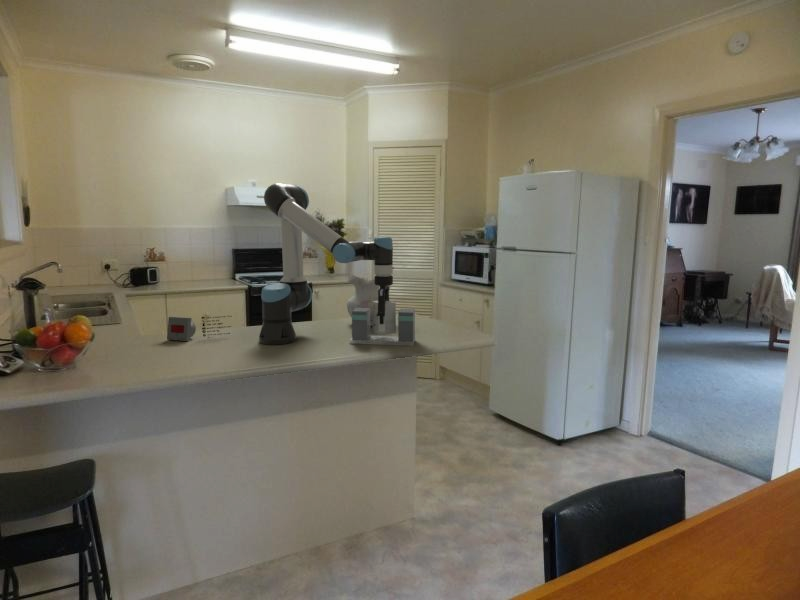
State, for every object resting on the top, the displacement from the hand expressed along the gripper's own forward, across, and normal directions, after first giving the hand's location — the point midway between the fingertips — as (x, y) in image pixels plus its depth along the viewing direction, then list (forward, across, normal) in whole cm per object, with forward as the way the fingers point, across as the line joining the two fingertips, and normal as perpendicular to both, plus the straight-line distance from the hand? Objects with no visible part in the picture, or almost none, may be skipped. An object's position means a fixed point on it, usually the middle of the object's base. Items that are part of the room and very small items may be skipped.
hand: (383, 328), depth 212 cm
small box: (+2, 0, 0) cm, 2 cm away
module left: (+4, 0, +10) cm, 10 cm away
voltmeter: (+6, -4, +79) cm, 79 cm away
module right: (+4, 0, -9) cm, 10 cm away
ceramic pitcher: (+6, +36, +13) cm, 39 cm away
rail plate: (+6, 0, +1) cm, 6 cm away
